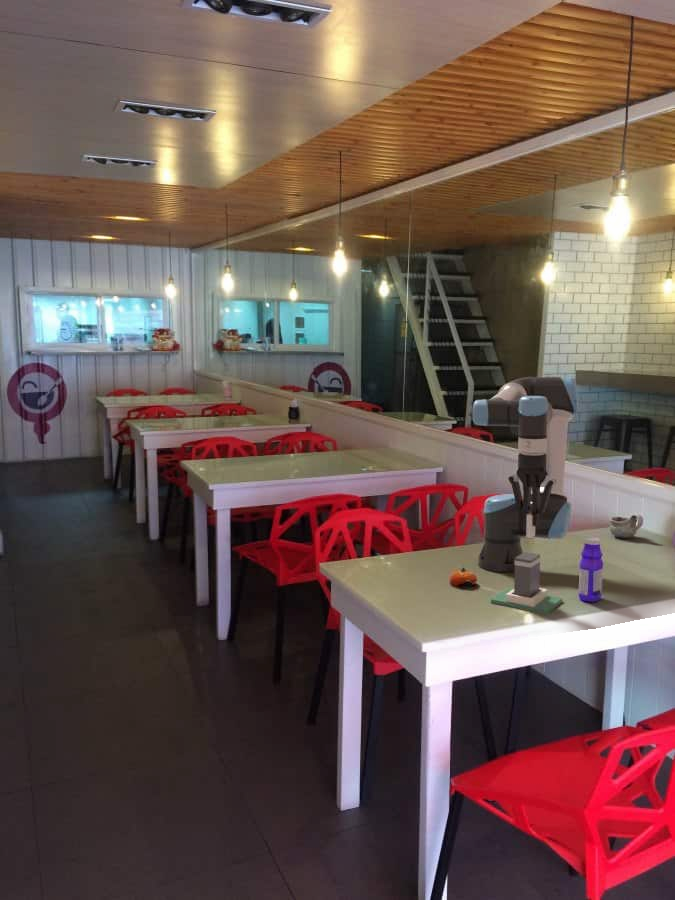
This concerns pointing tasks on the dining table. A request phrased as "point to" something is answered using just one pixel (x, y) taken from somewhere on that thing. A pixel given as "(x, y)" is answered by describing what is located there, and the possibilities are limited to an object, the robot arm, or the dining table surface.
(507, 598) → the header board
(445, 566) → the dining table surface
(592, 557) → the bottle
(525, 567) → the plug
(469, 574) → the tomato
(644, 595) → the dining table surface
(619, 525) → the mug
